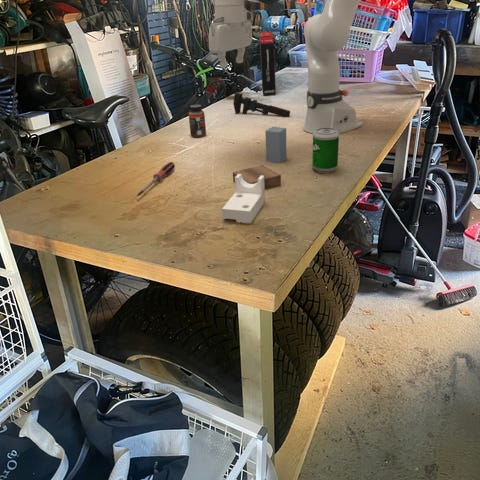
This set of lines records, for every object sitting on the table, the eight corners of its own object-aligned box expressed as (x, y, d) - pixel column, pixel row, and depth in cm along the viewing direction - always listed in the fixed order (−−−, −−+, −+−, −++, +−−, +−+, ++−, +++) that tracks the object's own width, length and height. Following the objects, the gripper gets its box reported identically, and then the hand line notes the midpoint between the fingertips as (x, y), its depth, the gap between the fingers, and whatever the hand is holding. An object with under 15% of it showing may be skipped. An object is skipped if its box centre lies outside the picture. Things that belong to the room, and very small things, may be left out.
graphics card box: (276, 95, 232) (275, 35, 219) (262, 96, 232) (259, 36, 219) (274, 88, 247) (273, 31, 234) (261, 89, 247) (259, 32, 234)
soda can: (339, 166, 145) (341, 127, 139) (335, 175, 139) (337, 134, 133) (314, 164, 148) (315, 126, 142) (309, 173, 141) (310, 133, 136)
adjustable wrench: (285, 129, 199) (232, 113, 207) (287, 127, 201) (234, 111, 209) (288, 109, 195) (234, 93, 202) (291, 107, 197) (237, 92, 204)
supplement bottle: (204, 138, 178) (201, 107, 173) (188, 137, 179) (185, 107, 174) (208, 133, 183) (205, 103, 178) (193, 133, 185) (190, 103, 179)
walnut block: (262, 174, 143) (262, 164, 141) (280, 184, 135) (280, 174, 134) (233, 182, 139) (232, 172, 137) (250, 193, 131) (249, 183, 130)
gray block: (273, 156, 156) (272, 126, 151) (286, 158, 154) (286, 128, 149) (266, 161, 152) (265, 130, 148) (279, 163, 150) (279, 132, 145)
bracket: (239, 200, 128) (238, 173, 125) (265, 202, 126) (264, 175, 122) (223, 221, 118) (220, 193, 114) (250, 224, 115) (248, 195, 112)
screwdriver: (142, 201, 131) (141, 191, 129) (133, 200, 132) (131, 190, 130) (177, 169, 151) (176, 160, 150) (169, 168, 152) (167, 159, 151)
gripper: (220, 18, 133) (223, 70, 139) (255, 13, 148) (256, 60, 154) (201, 19, 135) (205, 70, 142) (237, 13, 151) (239, 60, 157)
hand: (232, 65), depth 148 cm, fingers open, 8 cm apart
